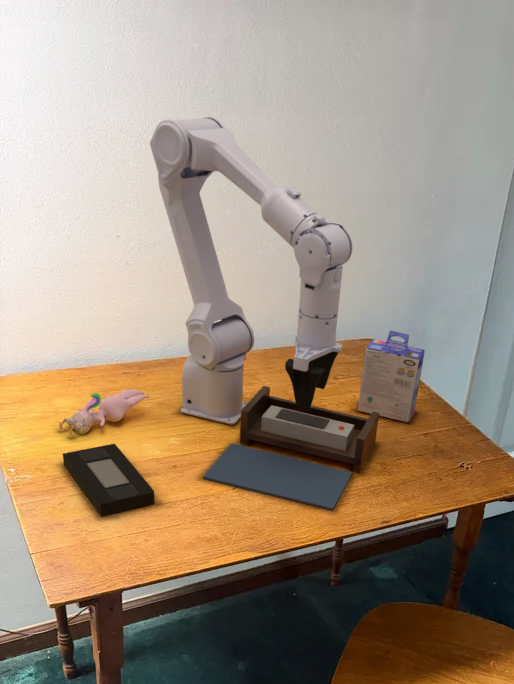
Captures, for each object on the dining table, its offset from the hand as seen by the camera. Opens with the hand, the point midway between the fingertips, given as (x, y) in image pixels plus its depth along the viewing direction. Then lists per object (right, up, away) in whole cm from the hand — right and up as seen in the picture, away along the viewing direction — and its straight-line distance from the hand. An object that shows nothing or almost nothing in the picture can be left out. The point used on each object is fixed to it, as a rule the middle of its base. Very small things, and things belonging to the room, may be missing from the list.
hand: (310, 396), depth 122 cm
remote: (-1, -5, +4) cm, 7 cm away
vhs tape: (-27, -15, -11) cm, 33 cm away
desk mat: (-4, -13, -3) cm, 14 cm away
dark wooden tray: (-1, -7, +7) cm, 9 cm away
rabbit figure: (-33, -4, +3) cm, 33 cm away
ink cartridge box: (+11, +1, +21) cm, 23 cm away
